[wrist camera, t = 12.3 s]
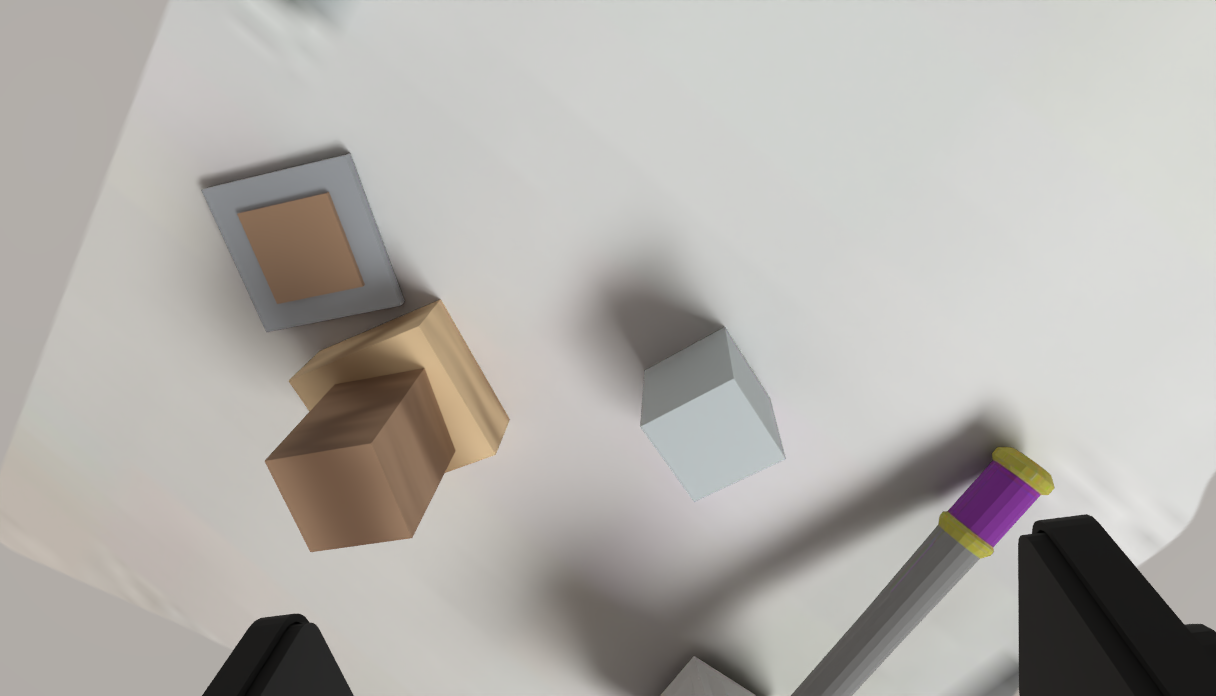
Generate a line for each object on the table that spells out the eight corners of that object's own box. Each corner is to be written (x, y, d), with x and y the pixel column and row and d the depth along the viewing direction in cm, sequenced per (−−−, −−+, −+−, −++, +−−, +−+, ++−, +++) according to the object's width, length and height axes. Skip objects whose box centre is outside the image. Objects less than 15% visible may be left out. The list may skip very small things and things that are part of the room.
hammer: (1083, 480, 30) (647, 958, 34) (1201, 575, 32) (769, 1022, 36) (911, 381, 45) (619, 725, 49) (997, 450, 47) (706, 777, 51)
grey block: (725, 326, 38) (733, 378, 33) (770, 398, 40) (785, 459, 34) (644, 370, 40) (640, 426, 34) (691, 437, 41) (694, 502, 36)
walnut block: (424, 368, 36) (371, 443, 30) (455, 450, 38) (411, 537, 32) (334, 384, 37) (264, 461, 31) (369, 464, 39) (310, 552, 33)
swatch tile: (350, 153, 36) (342, 156, 35) (404, 301, 39) (398, 307, 38) (208, 187, 37) (197, 191, 36) (272, 328, 40) (263, 334, 39)
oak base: (442, 297, 39) (418, 325, 35) (511, 416, 42) (495, 454, 38) (322, 348, 41) (288, 380, 37) (395, 459, 44) (370, 499, 40)
